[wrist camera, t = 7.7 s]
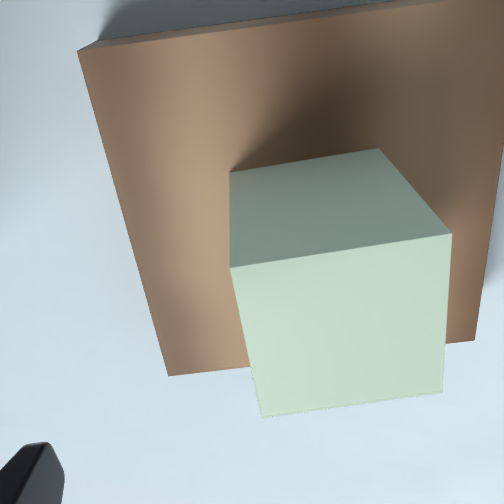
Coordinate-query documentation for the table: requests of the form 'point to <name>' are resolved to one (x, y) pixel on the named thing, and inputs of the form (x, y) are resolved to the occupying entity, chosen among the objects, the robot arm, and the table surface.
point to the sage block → (338, 282)
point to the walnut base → (295, 140)
